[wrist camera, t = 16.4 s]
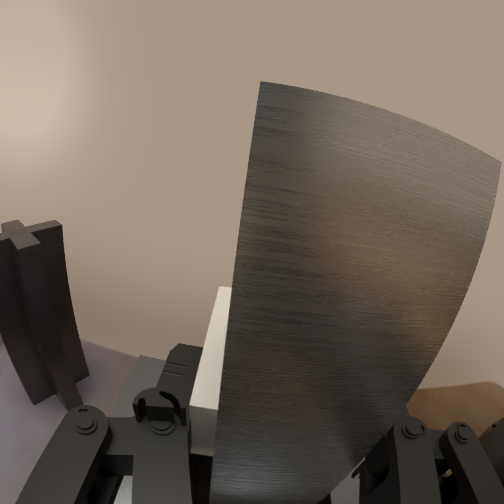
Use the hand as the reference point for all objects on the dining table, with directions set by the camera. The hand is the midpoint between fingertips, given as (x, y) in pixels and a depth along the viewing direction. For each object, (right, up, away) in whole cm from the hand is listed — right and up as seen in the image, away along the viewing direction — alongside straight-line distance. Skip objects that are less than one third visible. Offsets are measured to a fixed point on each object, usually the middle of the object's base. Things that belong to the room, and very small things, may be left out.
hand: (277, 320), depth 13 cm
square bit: (-2, -13, -1) cm, 13 cm away
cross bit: (-21, -10, +8) cm, 25 cm away
